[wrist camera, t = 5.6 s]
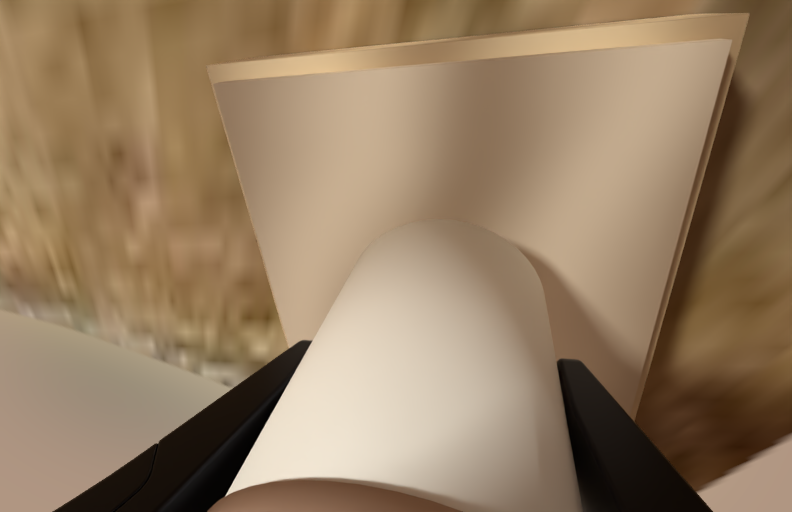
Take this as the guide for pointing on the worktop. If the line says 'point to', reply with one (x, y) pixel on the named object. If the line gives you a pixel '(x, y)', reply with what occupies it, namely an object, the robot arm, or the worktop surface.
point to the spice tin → (422, 390)
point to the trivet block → (492, 164)
